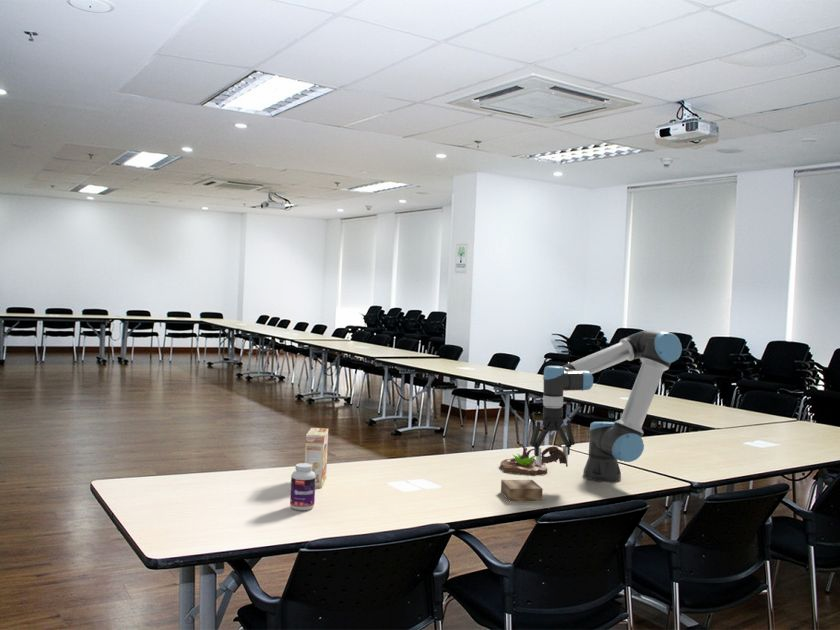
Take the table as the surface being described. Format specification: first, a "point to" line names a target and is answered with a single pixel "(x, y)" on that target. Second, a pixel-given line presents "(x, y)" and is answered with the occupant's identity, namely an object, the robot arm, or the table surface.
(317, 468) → the coffeecake box
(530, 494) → the walnut block
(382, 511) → the table surface
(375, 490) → the table surface
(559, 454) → the dark brown figurine
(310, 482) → the pill bottle
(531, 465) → the plant
